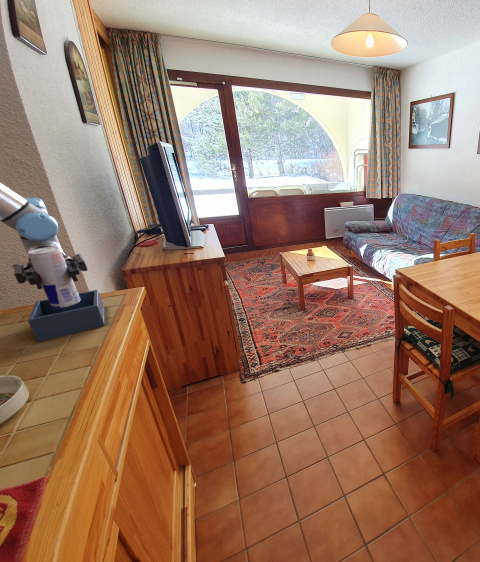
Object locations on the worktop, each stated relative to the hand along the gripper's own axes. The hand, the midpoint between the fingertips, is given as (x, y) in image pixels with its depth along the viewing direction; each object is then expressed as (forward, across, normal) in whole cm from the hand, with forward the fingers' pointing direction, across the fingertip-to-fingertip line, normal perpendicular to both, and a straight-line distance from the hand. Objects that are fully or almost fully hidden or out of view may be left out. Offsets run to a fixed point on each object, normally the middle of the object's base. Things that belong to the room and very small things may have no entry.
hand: (56, 279), depth 74 cm
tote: (-5, 0, -14) cm, 15 cm away
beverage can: (-5, 0, -9) cm, 10 cm away
